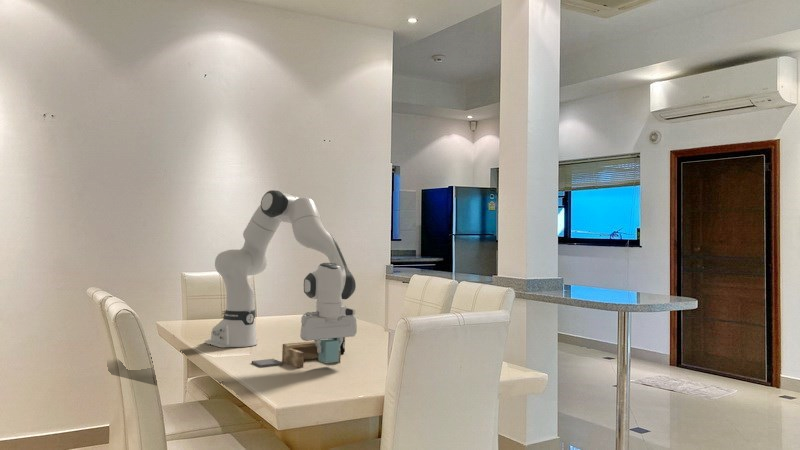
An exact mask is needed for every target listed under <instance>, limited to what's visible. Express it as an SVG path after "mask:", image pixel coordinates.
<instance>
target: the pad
mask: <svg viewBox="0 0 800 450" xmlns="http://www.w3.org/2000/svg"><path fill="white" fill-rule="evenodd" d="M251 364H252V365H255V366H257V367H259V368H266V367H268V368H269V367H276V366H283V365H284V361H280V360H278V359H275V358H267V359H266V358H265V359H259V360H257V359H256V360H252V361H251Z"/></svg>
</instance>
